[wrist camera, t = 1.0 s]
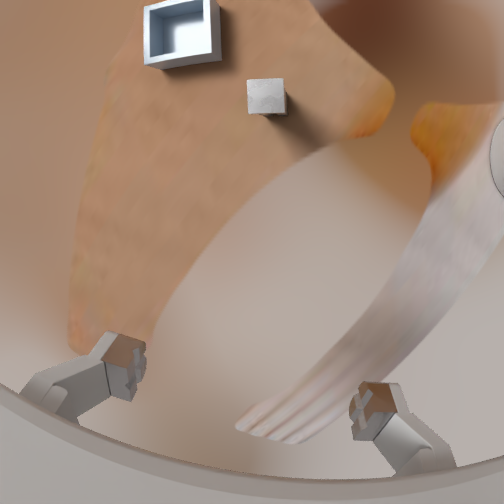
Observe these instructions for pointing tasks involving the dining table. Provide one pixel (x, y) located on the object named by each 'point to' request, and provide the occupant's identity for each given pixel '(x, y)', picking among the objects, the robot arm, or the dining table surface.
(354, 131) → the dining table surface
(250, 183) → the dining table surface
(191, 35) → the blue-gray square tray
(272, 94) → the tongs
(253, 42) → the dining table surface
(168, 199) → the dining table surface
